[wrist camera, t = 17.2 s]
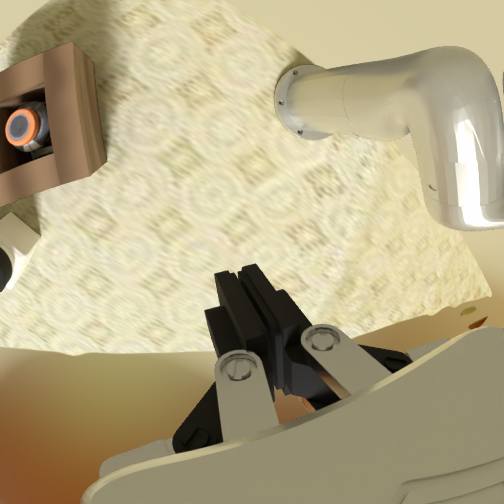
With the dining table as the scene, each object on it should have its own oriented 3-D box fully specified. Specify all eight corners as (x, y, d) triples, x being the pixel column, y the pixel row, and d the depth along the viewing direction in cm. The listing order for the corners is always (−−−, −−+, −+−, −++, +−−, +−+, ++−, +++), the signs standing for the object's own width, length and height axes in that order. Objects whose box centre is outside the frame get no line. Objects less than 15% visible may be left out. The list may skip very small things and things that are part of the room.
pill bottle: (67, 145, 33) (39, 154, 23) (32, 146, 30) (-4, 157, 21) (72, 103, 30) (45, 97, 21) (36, 105, 28) (0, 102, 18)
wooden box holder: (93, 62, 29) (72, 41, 19) (107, 161, 36) (89, 176, 26) (4, 96, 26) (-37, 93, 16) (20, 189, 33) (-17, 214, 22)
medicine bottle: (10, 210, 33) (-26, 239, 23) (42, 236, 37) (14, 272, 27) (-5, 244, 34) (-38, 280, 24) (25, 268, 37) (-1, 310, 27)
